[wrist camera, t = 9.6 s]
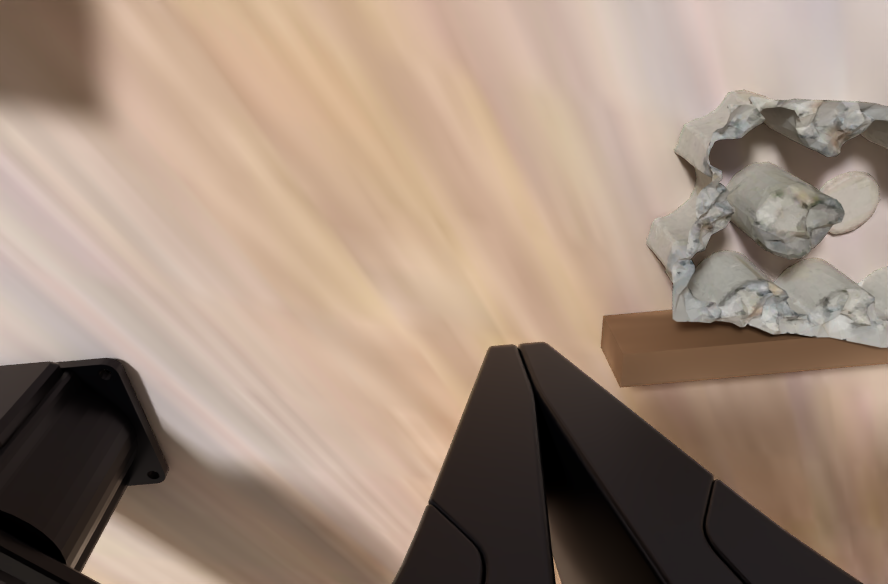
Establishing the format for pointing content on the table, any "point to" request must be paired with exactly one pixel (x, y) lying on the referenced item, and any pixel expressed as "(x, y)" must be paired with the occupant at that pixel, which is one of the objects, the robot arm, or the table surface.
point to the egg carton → (776, 224)
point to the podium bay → (716, 350)
